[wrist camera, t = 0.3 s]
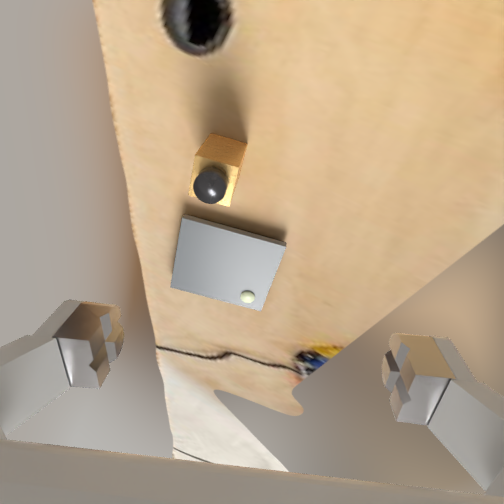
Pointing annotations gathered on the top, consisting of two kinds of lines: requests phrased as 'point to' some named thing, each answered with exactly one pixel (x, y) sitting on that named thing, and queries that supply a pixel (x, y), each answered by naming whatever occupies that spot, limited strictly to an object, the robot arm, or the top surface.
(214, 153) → the block with dome knob
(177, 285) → the base
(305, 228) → the top surface
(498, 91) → the top surface
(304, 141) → the top surface
